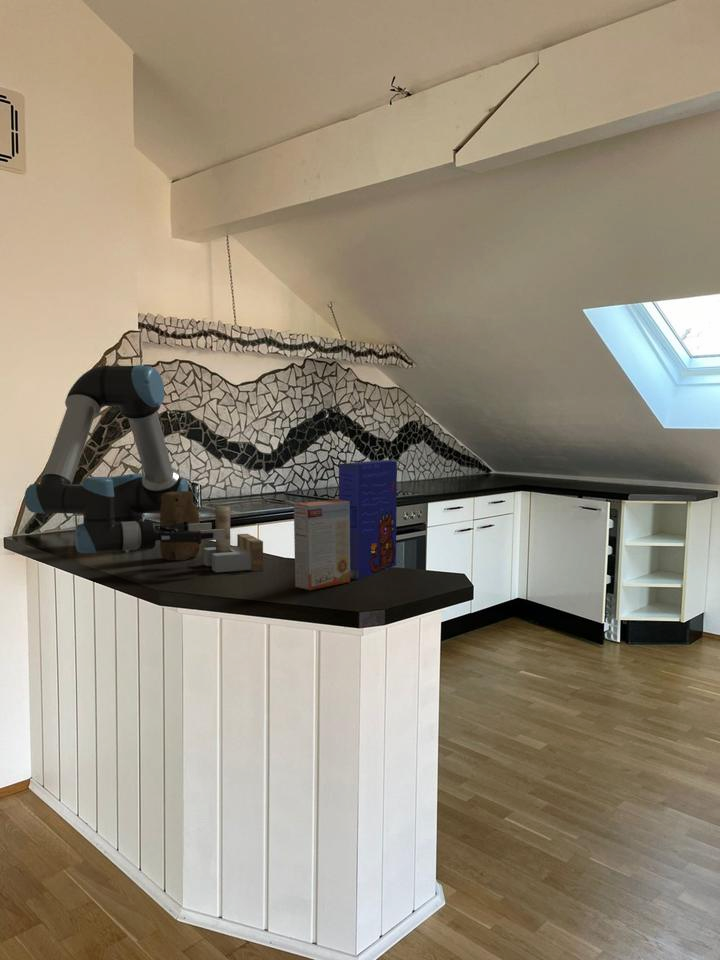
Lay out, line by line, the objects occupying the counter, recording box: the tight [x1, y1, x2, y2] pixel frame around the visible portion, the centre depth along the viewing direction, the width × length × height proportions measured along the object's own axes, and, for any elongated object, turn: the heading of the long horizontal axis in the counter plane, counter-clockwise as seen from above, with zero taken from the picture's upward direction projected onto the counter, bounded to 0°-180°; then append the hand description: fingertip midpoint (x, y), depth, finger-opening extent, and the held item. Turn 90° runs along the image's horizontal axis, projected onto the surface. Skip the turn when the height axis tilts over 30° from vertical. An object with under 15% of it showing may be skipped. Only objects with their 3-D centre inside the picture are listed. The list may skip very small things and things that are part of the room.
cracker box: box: [293, 499, 351, 591], centre depth 183 cm, size 14×6×21 cm, turn 134°
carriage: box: [203, 545, 252, 573], centre depth 205 cm, size 14×10×4 cm
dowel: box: [214, 505, 231, 553], centre depth 204 cm, size 4×4×17 cm
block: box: [159, 490, 201, 562], centre depth 218 cm, size 11×8×20 cm
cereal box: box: [338, 459, 398, 581], centre depth 200 cm, size 22×6×30 cm, turn 151°
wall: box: [236, 533, 264, 572], centre depth 208 cm, size 15×3×8 cm, turn 25°
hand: (217, 530), depth 203 cm, fingers open, 13 cm apart
